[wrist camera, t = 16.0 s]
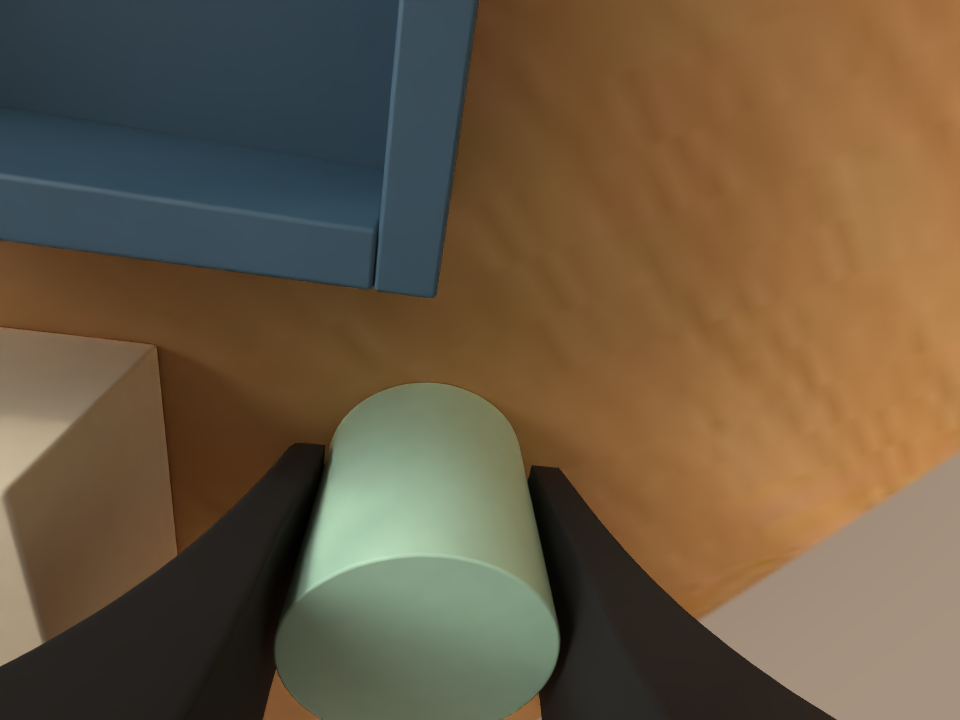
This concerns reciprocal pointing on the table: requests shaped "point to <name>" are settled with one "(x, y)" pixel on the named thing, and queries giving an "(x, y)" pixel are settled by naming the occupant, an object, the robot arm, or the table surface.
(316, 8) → the box
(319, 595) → the mint green cylinder
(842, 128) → the table surface
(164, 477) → the cream block
